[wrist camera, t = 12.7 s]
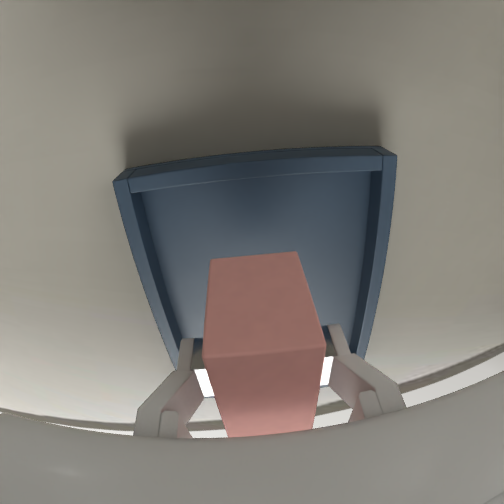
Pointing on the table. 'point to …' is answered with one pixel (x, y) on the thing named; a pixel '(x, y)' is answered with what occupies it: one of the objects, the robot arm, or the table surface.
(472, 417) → the robot arm
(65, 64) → the table surface
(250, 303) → the eraser
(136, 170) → the tray
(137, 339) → the table surface
